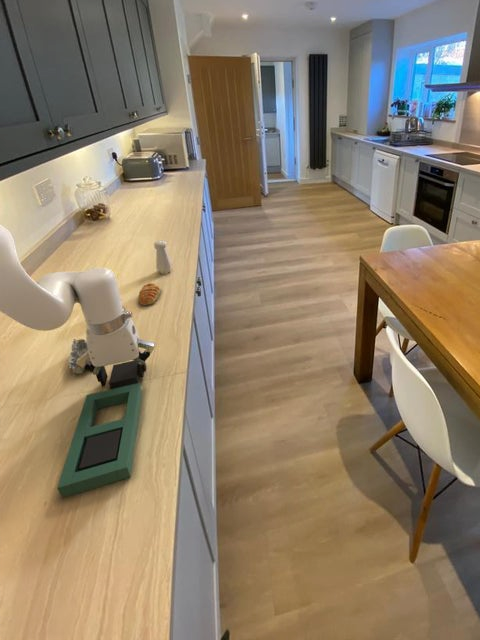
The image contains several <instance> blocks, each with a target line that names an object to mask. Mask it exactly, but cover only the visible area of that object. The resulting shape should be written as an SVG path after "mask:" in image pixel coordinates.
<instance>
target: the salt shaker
mask: <svg viewBox="0 0 480 640" xmlns="http://www.w3.org/2000/svg"><path fill="white" fill-rule="evenodd" d="M153 247H154V249H155V250H156V251H155V252H156V257H155V259H156V260H155V263H156V265H155V267H156V270H157V271H158V272H159V274H161V275H166V274H168V273H171V270H172V267H173V265H172V264H173V263H172V261H171V259H170V257H169V254H168V251H167V249H166V247H167V242H166V241H164V240H157V241H155V242H154V243H153Z"/></svg>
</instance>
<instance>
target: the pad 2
mask: <svg viewBox="0 0 480 640" xmlns="http://www.w3.org/2000/svg"><path fill="white" fill-rule="evenodd" d="M137 364H138V363H137V362H135V361H134V360H129V361H125V362H120V363H116V364H112V368H111V373H110V377H109V381H108V385H109V388H110V390H111V389H115V388H119V387H123V386H128V385H132V384H137V383H140V382H141V377H140V376H139V372H138V368H137Z"/></svg>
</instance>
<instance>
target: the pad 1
mask: <svg viewBox="0 0 480 640" xmlns="http://www.w3.org/2000/svg"><path fill="white" fill-rule="evenodd" d="M121 436H122V432H121V429H120V430H117V431H113V432H109V433H105V434H102V435H98V436H94V437H90V438H87V441H86V445H85V449H84V452H83V456H82V459H81V463H80V467H79V470H80V471H82V470H85V469H89V468H92V467H96V466H99V465H103V464H106V463H109V462H113V461H116V460H117V458H118V452H119V447H120V441H121Z"/></svg>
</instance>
